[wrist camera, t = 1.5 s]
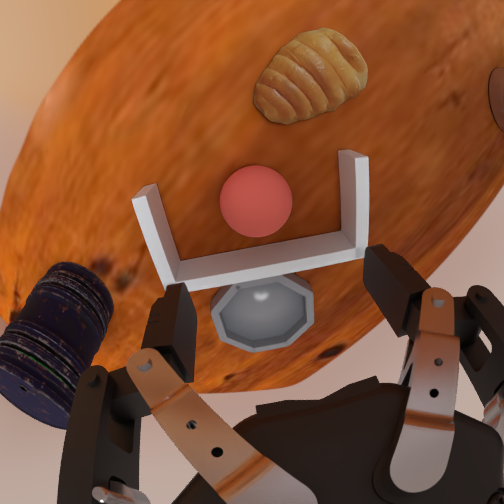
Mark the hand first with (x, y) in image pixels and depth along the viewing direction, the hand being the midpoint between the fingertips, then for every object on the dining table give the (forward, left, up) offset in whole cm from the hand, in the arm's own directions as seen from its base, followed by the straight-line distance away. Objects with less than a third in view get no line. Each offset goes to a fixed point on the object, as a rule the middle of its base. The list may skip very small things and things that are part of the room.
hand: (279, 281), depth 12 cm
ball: (0, 0, -13) cm, 13 cm away
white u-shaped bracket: (0, +2, -13) cm, 13 cm away
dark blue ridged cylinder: (+22, +7, -13) cm, 27 cm away
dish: (+1, +13, -13) cm, 18 cm away
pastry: (-7, -9, -14) cm, 18 cm away
